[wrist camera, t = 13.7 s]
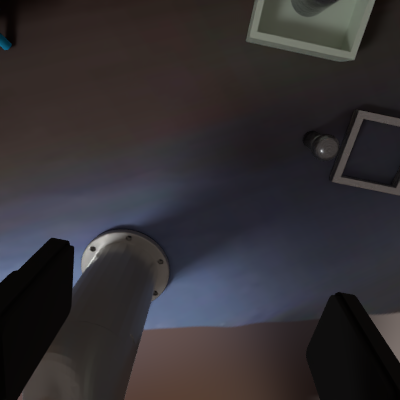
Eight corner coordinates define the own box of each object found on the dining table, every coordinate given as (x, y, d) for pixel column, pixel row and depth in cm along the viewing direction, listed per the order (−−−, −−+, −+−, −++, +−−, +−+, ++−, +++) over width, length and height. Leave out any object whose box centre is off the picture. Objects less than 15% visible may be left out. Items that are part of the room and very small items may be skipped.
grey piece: (394, 192, 39) (426, 211, 33) (289, 170, 38) (302, 187, 32) (425, 124, 35) (467, 133, 30) (311, 100, 35) (331, 104, 29)
